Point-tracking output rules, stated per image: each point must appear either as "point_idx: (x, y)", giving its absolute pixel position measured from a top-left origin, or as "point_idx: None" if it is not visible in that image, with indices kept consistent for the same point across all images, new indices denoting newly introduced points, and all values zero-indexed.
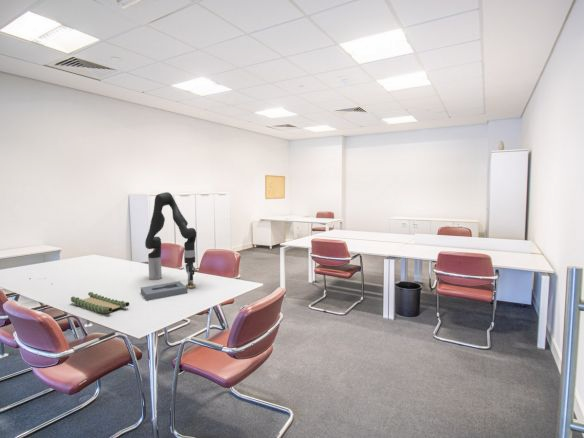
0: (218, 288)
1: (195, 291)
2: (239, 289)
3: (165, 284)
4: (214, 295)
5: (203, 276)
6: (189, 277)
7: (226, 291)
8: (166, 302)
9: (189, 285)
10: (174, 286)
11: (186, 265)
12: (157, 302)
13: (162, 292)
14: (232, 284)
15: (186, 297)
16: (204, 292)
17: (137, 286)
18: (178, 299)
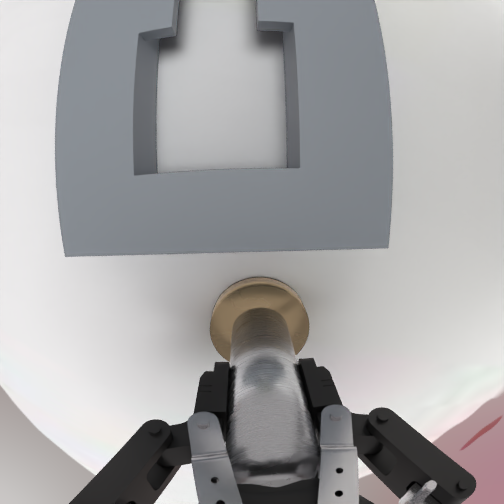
0: (129, 436)
1: (112, 314)
2: (87, 465)
3: (343, 54)
4: (15, 363)
5: (440, 419)
6: (234, 384)
7: (67, 429)
8: (4, 65)
9: (238, 318)
10: (293, 153)
11: (442, 494)
12: (39, 12)
13: (77, 7)
14: (179, 487)
15: (11, 205)
16: (70, 352)
17: (488, 9)
18: (3, 142)
